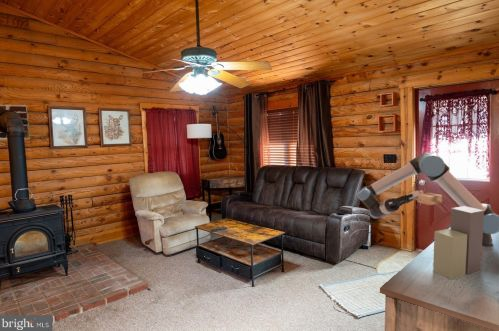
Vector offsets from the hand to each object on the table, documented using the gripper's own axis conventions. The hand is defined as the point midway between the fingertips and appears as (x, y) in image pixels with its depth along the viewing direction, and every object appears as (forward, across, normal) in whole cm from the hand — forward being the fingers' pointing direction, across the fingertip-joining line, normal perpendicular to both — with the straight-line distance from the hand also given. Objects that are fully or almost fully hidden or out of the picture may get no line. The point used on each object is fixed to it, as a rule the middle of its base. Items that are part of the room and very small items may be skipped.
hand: (420, 192), depth 164 cm
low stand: (-3, 0, -40) cm, 40 cm away
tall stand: (-3, -11, -40) cm, 41 cm away
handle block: (-1, 0, -4) cm, 4 cm away
